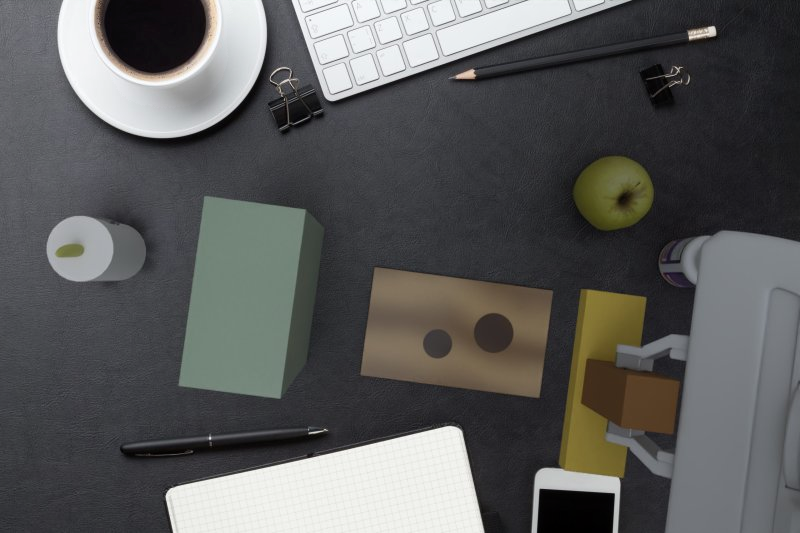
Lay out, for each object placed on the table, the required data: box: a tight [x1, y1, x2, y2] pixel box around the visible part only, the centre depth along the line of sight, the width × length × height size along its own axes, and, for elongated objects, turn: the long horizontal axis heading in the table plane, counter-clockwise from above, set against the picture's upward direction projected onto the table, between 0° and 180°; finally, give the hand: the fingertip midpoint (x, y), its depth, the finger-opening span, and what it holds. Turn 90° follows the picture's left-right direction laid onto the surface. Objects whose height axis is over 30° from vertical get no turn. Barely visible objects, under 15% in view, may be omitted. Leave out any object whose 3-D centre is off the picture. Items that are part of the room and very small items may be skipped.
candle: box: [46, 215, 147, 283], centre depth 75 cm, size 6×6×15 cm
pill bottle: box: [658, 235, 712, 288], centre depth 80 cm, size 5×5×10 cm
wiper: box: [558, 288, 681, 479], centre depth 47 cm, size 12×4×10 cm, turn 172°
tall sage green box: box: [178, 195, 326, 400], centre depth 71 cm, size 15×8×24 cm, turn 172°
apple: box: [572, 155, 655, 231], centre depth 80 cm, size 8×8×10 cm
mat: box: [359, 266, 554, 399], centre depth 84 cm, size 12×20×1 cm, turn 82°
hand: (614, 391), depth 46 cm, fingers closed on wiper, 3 cm apart
